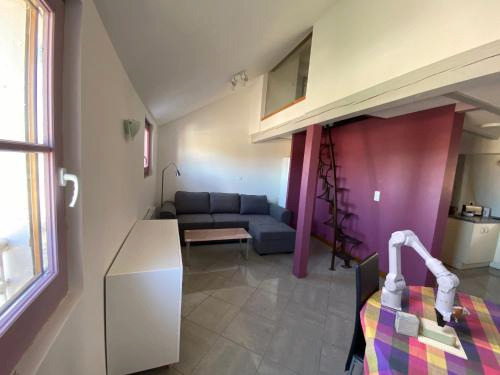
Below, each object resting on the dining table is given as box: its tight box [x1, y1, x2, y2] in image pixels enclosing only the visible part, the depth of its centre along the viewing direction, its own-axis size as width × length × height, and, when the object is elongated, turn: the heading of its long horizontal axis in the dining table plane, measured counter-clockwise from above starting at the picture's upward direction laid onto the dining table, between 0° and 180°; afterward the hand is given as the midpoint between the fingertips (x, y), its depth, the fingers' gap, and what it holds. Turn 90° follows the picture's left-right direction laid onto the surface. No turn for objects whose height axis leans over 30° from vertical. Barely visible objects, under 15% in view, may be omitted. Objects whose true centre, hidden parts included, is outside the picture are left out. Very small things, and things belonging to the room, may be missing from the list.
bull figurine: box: [451, 306, 471, 324], centre depth 109 cm, size 4×13×8 cm, turn 78°
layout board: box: [417, 316, 468, 360], centre depth 99 cm, size 16×20×1 cm
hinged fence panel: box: [418, 325, 457, 347], centre depth 95 cm, size 13×2×4 cm, turn 58°
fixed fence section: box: [414, 310, 421, 325], centre depth 104 cm, size 1×12×4 cm, turn 148°
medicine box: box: [394, 310, 419, 339], centre depth 100 cm, size 8×4×9 cm, turn 71°
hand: (440, 325), depth 100 cm, fingers closed
